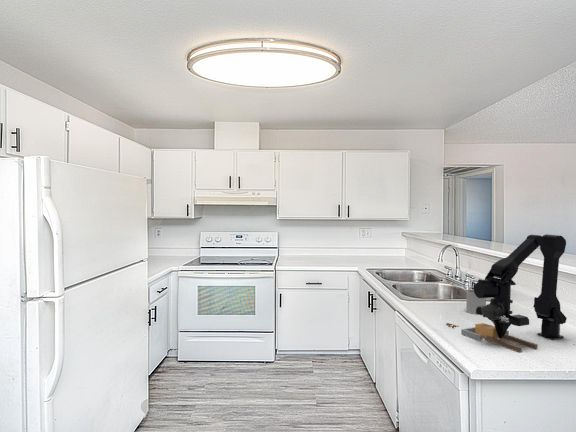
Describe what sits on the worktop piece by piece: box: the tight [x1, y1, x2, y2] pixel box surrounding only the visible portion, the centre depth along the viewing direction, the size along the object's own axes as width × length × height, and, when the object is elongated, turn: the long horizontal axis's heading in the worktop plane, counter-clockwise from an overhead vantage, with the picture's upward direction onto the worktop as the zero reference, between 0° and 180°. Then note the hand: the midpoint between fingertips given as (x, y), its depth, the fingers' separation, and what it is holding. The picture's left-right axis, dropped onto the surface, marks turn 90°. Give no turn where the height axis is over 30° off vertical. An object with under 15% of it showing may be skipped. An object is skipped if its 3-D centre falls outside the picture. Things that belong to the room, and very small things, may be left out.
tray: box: [460, 326, 510, 342], centre depth 161 cm, size 16×9×2 cm, turn 114°
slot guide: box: [484, 334, 538, 353], centre depth 151 cm, size 9×14×2 cm
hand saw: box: [445, 322, 460, 329], centre depth 180 cm, size 24×5×1 cm, turn 33°
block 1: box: [474, 322, 492, 338], centre depth 162 cm, size 4×4×4 cm
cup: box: [465, 289, 487, 316], centre depth 195 cm, size 8×8×10 cm
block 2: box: [483, 324, 501, 340], centre depth 158 cm, size 4×4×4 cm
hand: (500, 338), depth 155 cm, fingers closed
